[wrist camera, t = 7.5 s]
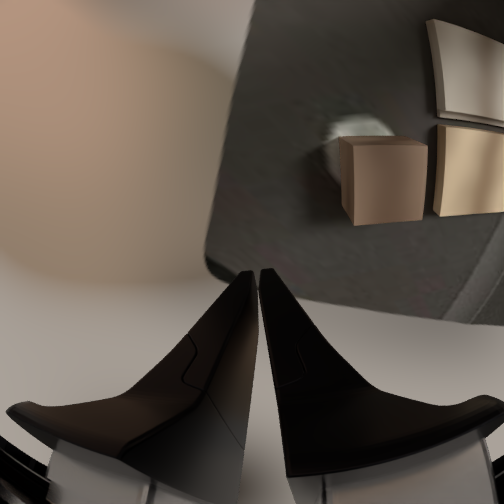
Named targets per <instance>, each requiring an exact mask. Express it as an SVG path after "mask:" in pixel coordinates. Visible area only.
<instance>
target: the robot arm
mask: <svg viewBox="0 0 504 504" xmlns="http://www.w3.org/2000/svg"><path fill="white" fill-rule="evenodd" d="M259 299H260V304H261V311H262V317H263V322H264V328H265V334H266V340H267V346H268V352H269V358H270V364H271V369H272V376H273V382H274V388H275V393H276V400H277V406H278V413H279V420H280V429H281V436H282V445H283V452H284V460H285V468H286V477H287V480H288V483H289V486H290V489H291V491H292V494H293V497H294V500H295V502H296V504H504V455H503V456H501V457H500V458H498V459H496V460H495V461H493V462H491V458H490V454H489V450H488V447H487V443H486V440H485V438H486V437H487V436H489V435H490V434H491V433H492V432H493V431H494V430H496V429H497V428H498V427H499V426H500V425H502V424H503V423H504V402H503V401H501V400H499V399H497V398H495V397H492V396H489V395H480V396H477V397H474V398H472V399H469V400H467V401H465V402H462V403H459V404H456V405H450V406H438V405H432V404H427V403H424V402H420V401H416V400H412V399H408V398H405V397H401V396H397V395H394V394H390V393H387V392H384V391H381V390H379V389H377V388H376V387H374V386H372V385H371V384H370V383H369V382H367V381H366V380H365V379H364V378H363V377H362V376H361V375H360V374H359V373H358V372H357V371H356V370H355V369H354V368H353V367H352V366H351V365H350V364H349V363H348V362H347V361H346V360H345V359H344V358H343V357H342V356H341V355H340V354H339V353H338V352H337V351H336V350H335V349H334V348H333V347H332V346H331V345H330V344H329V343H328V341H327V340H326V339H325V338H324V336H323V335H322V334H321V332H320V331H319V330H318V328H317V327H316V326H315V325H314V323H313V322H312V321H311V319H310V318H309V316H308V315H307V314H306V312H305V311H304V309H303V308H302V307H301V305H300V304H299V303H298V301H297V300H296V299H295V297H294V296H293V295H292V293H291V292H290V290H289V289H288V288H287V286H286V285H285V284H284V282H283V281H282V280H281V278H280V277H279V276H278V274H277V273H276V272H275V270H274V269H273V268H268V269H262V270H261V272H260V281H259ZM258 324H259V322H258V292H257V286H256V281H255V276H254V272H253V271H252V270H250V271H241V272H240V273H239V274H238V275H237V276H236V278H235V279H234V280H233V281H232V282H231V283H230V285H229V286H228V287H227V288H226V289H225V290H224V291H223V293H222V294H221V295H220V296H219V297H218V298H217V299H216V301H215V302H214V303H213V304H212V305H211V306H210V308H209V309H208V310H207V311H206V312H205V313H204V315H203V316H202V317H201V318H200V319H199V320H198V321H197V323H196V324H195V325H194V326H193V327H192V328H191V329H190V331H189V332H188V334H186V335H185V336H184V337H183V338H182V340H181V341H180V342H179V343H178V344H177V345H176V346H175V347H174V348H173V349H172V350H171V352H169V353H168V354H167V355H166V356H165V357H164V358H163V360H161V361H160V362H159V363H158V364H157V365H156V366H155V367H154V368H153V369H152V370H150V371H149V372H148V373H147V374H146V375H145V376H144V377H143V378H142V379H140V380H139V382H137V383H136V384H135V385H134V386H133V387H131V388H130V389H129V390H128V391H126V392H125V393H123V394H121V395H119V396H116V397H113V398H108V399H102V400H97V401H91V402H85V403H79V404H72V405H65V406H41V405H38V404H36V403H33V402H30V401H27V402H21V403H17V404H15V405H12V406H11V407H9V408H8V409H7V410H6V413H7V415H8V416H9V417H10V418H11V419H12V420H13V421H15V422H16V423H17V424H18V425H20V426H21V427H22V428H23V429H25V430H26V431H27V432H28V433H30V434H31V435H32V436H34V437H35V438H37V439H38V440H39V441H41V442H42V443H44V444H45V445H47V446H48V447H50V448H51V449H53V452H52V455H51V458H50V461H49V464H48V467H47V466H45V465H44V464H42V463H40V462H38V461H36V460H35V459H33V458H32V457H30V456H29V455H27V454H26V453H24V452H23V451H21V450H20V449H18V448H17V447H15V446H14V445H12V444H11V443H9V442H8V441H7V440H6V439H4V438H3V437H2V436H0V504H237V500H238V493H239V486H240V479H241V472H242V465H243V458H244V450H245V442H246V435H247V427H248V418H249V411H250V403H251V394H252V387H253V378H254V370H255V362H256V354H257V345H258V335H259V334H258V333H259V325H258Z"/></svg>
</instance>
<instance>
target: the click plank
mask: <svg viewBox="0 0 504 504" xmlns="http://www.w3.org/2000/svg"><path fill="white" fill-rule="evenodd" d="M433 211H434V212H435V213H436V214H438V215H439V216H440V217H441V216H453V215H466V214H479V213H493V212H504V133H499V132H494V131H488V130H482V129H475V128H468V127H460V126H450V125H440V124H437V169H436V183H435V194H434V204H433Z"/></svg>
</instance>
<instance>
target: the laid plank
mask: <svg viewBox="0 0 504 504" xmlns="http://www.w3.org/2000/svg"><path fill="white" fill-rule="evenodd" d="M425 22H426V27H427V31H428V36H429V42H430V48H431V54H432V61H433V69H434V77H435V88H436V101H437V117H443V118H452V119H459V120H467V121H473V122H479V123H485V124H491V125H496V126H501V127H504V44H502V43H500V42H498V41H495V40H493V39H491V38H488V37H486V36H484V35H481V34H479V33H476V32H473V31H471V30H468V29H465V28H462V27H459V26H456V25H453V24H450V23H446V22H443V21H440V20H436V19H432V20H428V21H425Z"/></svg>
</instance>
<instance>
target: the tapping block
mask: <svg viewBox="0 0 504 504" xmlns="http://www.w3.org/2000/svg"><path fill="white" fill-rule="evenodd" d="M339 148H340V165H341V193H342V206H343V208H344V210H345V211H346V213H347V215H348V216H349V218H350V220H351V221H352V223H353V225H354V226H356V225H367V224H379V223H390V222H402V221H414V220H422V217H423V209H424V199H425V189H426V176H427V156H428V146H427V145H425V144H422V143H420V142H418V141H415V140H413V139H410V138H408V137H406V136H343V137H339Z"/></svg>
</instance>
